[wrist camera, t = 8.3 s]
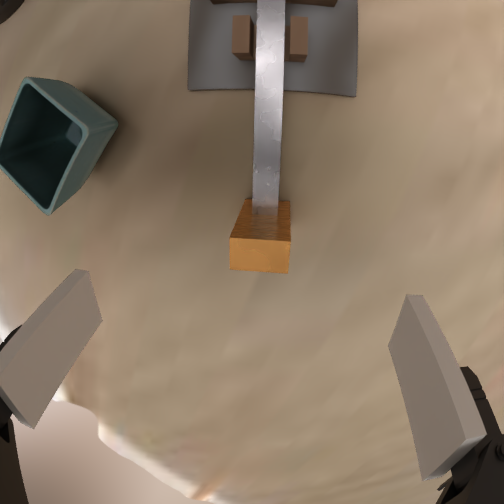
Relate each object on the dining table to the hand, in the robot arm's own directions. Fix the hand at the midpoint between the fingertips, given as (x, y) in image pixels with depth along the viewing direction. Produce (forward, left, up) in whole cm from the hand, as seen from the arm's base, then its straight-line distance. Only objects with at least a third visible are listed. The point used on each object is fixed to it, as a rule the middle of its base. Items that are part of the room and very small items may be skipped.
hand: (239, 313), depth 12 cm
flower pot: (-18, +6, -18) cm, 26 cm away
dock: (0, +18, -18) cm, 26 cm away
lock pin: (0, +7, -18) cm, 19 cm away
